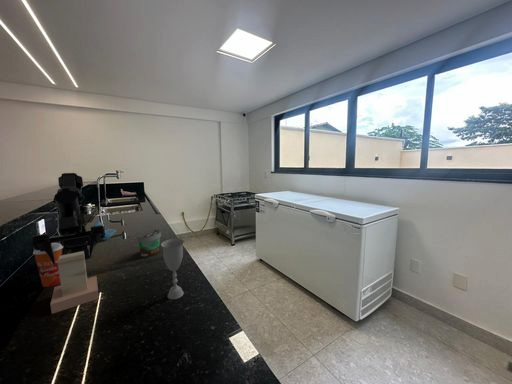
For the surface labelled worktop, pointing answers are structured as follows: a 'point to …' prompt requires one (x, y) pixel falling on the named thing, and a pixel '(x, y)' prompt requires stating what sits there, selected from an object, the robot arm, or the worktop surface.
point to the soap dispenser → (106, 231)
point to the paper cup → (48, 266)
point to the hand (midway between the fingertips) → (72, 259)
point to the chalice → (173, 263)
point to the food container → (150, 244)
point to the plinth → (74, 296)
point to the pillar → (72, 273)
